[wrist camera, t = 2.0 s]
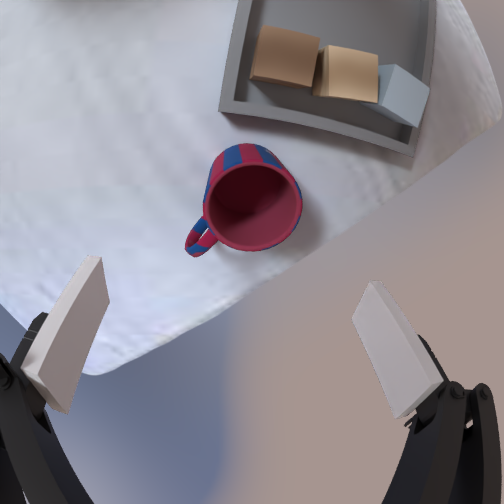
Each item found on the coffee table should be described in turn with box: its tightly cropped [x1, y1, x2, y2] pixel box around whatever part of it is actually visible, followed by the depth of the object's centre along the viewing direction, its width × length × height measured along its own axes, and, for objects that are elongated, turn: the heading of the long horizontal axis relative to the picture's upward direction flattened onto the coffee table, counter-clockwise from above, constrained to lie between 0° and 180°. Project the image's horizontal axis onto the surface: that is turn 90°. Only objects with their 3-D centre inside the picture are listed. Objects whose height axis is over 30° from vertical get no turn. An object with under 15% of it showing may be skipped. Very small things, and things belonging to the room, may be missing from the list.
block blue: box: [359, 64, 430, 128], centre depth 18 cm, size 4×4×4 cm
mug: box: [185, 143, 302, 257], centre depth 21 cm, size 7×10×7 cm
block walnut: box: [249, 25, 320, 89], centre depth 16 cm, size 4×4×4 cm
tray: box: [218, 0, 436, 157], centre depth 15 cm, size 22×18×2 cm
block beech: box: [312, 45, 378, 103], centre depth 17 cm, size 4×4×4 cm
